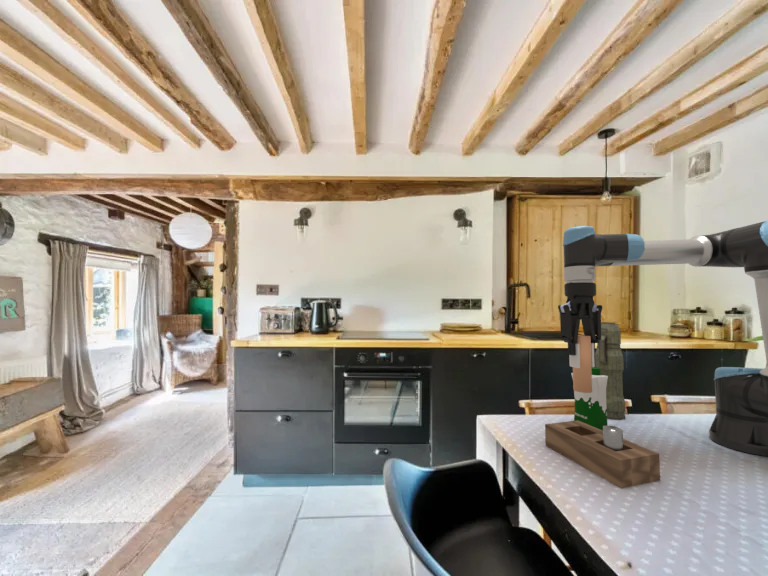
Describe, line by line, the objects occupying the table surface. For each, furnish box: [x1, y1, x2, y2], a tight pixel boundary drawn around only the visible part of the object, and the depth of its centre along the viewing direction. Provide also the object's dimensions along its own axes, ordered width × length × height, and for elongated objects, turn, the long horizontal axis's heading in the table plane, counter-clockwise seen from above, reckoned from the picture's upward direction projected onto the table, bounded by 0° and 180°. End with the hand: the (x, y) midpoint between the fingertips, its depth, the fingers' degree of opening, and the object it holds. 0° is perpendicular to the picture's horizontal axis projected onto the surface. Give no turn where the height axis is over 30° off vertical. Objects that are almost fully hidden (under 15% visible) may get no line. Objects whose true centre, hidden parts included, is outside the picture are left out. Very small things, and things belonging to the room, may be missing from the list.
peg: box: [572, 334, 592, 393], centre depth 87 cm, size 4×4×15 cm
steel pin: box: [603, 425, 624, 451], centre depth 78 cm, size 4×4×10 cm
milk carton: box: [570, 367, 608, 430], centre depth 108 cm, size 9×9×20 cm
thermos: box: [594, 321, 626, 421], centre depth 120 cm, size 9×12×35 cm
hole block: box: [544, 420, 661, 489], centre depth 82 cm, size 12×22×7 cm, turn 16°
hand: (581, 366), depth 87 cm, fingers closed on peg, 4 cm apart
